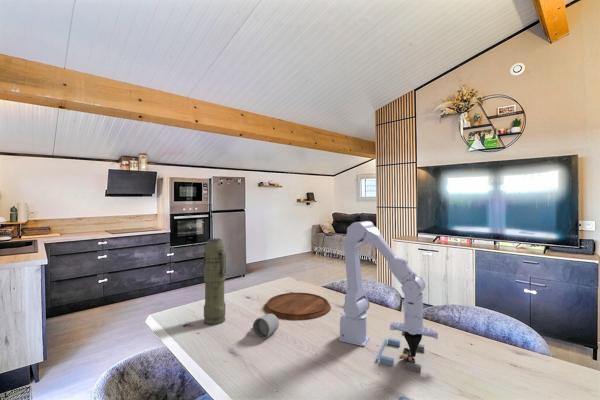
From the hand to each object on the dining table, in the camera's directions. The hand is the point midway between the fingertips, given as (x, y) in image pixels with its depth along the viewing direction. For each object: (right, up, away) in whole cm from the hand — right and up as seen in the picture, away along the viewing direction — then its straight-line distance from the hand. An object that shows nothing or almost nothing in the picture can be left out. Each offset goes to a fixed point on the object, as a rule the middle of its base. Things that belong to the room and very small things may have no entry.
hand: (413, 355), depth 96 cm
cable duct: (-3, -1, +1) cm, 3 cm away
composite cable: (-1, -1, 0) cm, 2 cm away
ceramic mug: (-51, -1, +17) cm, 54 cm away
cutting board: (-38, -2, +46) cm, 60 cm away
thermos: (-74, -1, +30) cm, 80 cm away
